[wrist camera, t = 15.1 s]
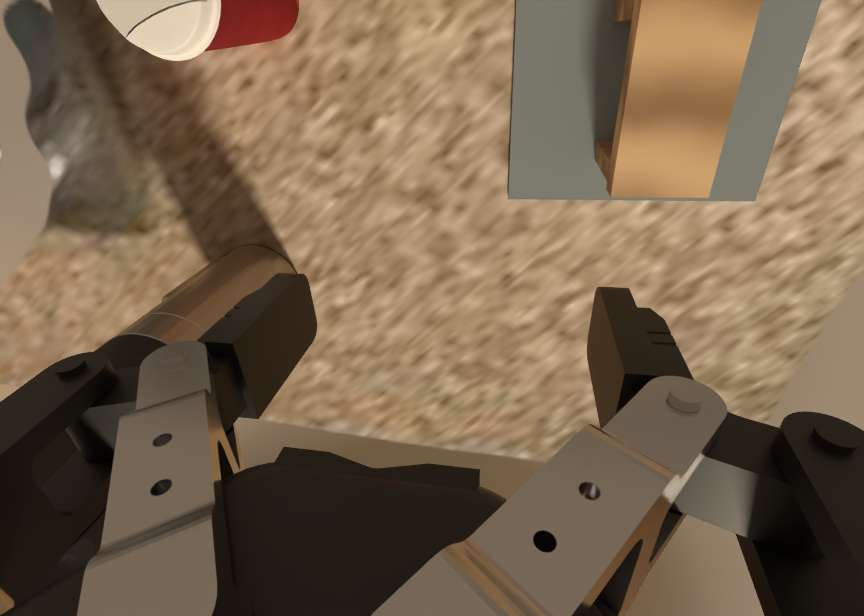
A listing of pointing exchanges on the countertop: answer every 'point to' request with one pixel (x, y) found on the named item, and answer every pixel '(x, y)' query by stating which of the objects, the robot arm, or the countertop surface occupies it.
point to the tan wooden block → (676, 95)
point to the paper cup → (199, 23)
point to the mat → (601, 87)
